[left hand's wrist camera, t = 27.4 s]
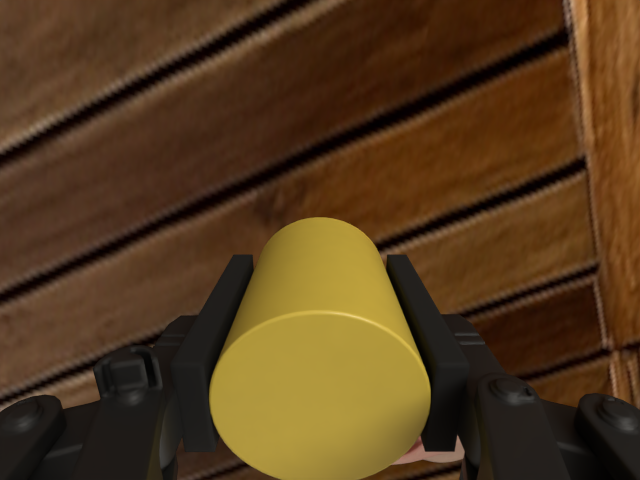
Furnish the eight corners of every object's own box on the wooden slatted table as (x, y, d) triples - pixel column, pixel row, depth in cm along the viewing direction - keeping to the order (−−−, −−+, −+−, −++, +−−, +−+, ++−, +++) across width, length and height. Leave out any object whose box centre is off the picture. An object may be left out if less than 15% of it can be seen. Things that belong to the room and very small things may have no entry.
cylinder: (382, 328, 16) (426, 482, 10) (263, 333, 16) (224, 490, 10) (383, 213, 14) (439, 305, 8) (249, 220, 14) (189, 316, 8)
